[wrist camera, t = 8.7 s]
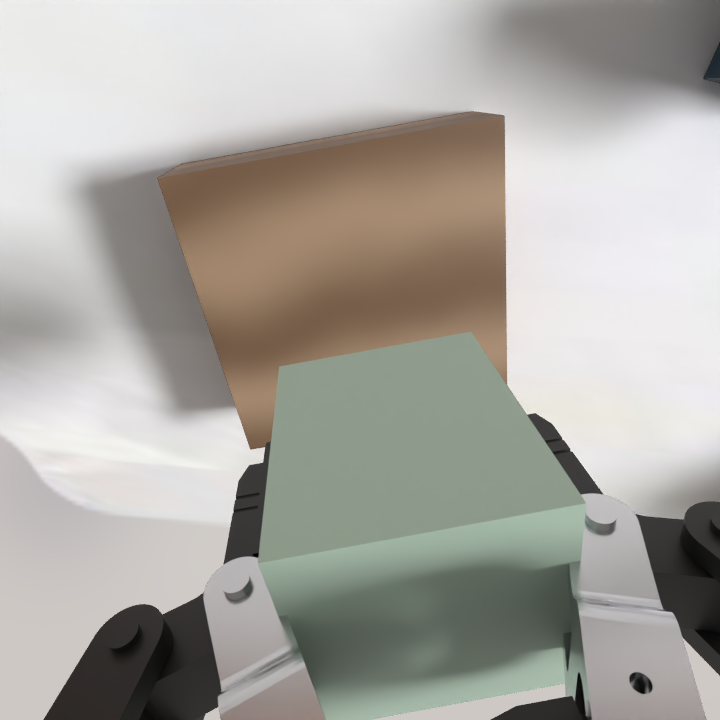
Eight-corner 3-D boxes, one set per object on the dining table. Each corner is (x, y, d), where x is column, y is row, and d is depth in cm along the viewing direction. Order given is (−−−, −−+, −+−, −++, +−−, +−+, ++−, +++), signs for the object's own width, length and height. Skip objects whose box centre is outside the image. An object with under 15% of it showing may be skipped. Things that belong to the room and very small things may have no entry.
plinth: (182, 163, 22) (157, 177, 18) (472, 111, 22) (504, 115, 18) (257, 404, 28) (250, 449, 24) (482, 363, 28) (507, 402, 24)
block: (279, 366, 13) (257, 563, 7) (471, 331, 13) (586, 503, 7) (317, 505, 15) (322, 728, 10) (478, 476, 15) (569, 683, 10)
